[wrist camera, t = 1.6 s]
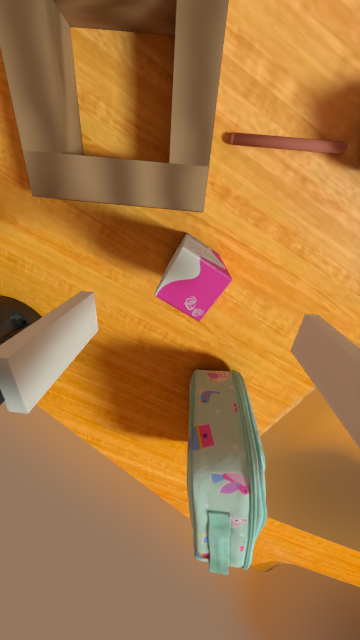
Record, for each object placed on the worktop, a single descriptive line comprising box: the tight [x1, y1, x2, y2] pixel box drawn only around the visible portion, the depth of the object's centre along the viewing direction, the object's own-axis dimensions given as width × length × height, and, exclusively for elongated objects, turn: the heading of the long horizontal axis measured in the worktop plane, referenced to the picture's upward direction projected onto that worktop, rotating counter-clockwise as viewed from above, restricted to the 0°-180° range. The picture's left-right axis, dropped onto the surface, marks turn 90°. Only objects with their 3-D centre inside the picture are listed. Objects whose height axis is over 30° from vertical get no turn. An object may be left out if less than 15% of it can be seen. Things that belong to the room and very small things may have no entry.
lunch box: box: [187, 369, 267, 575], centre depth 34 cm, size 27×10×21 cm, turn 5°
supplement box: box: [154, 233, 232, 321], centre depth 25 cm, size 6×6×12 cm
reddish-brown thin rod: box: [228, 133, 347, 154], centre depth 23 cm, size 13×1×1 cm, turn 85°
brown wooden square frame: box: [0, 0, 229, 212], centre depth 20 cm, size 19×19×5 cm
